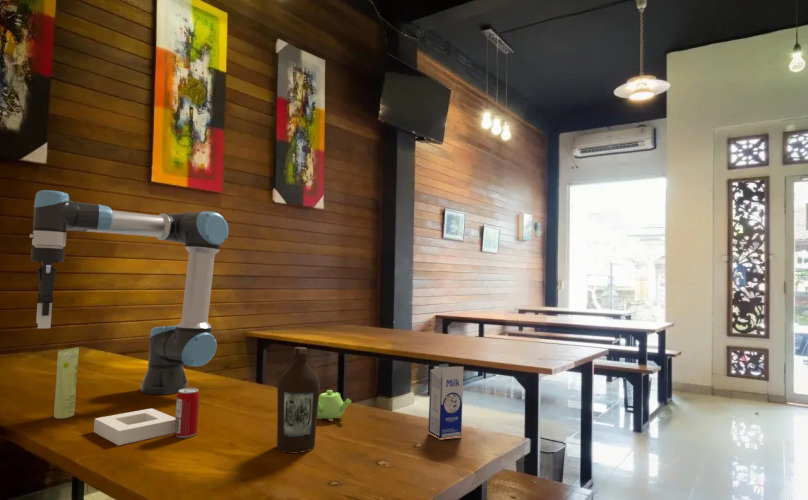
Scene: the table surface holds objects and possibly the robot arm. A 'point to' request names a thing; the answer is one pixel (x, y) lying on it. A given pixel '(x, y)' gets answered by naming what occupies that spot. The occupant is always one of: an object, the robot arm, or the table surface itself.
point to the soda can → (187, 412)
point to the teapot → (331, 405)
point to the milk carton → (446, 401)
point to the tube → (66, 383)
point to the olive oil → (297, 405)
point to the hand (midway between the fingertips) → (43, 325)
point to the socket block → (134, 426)
